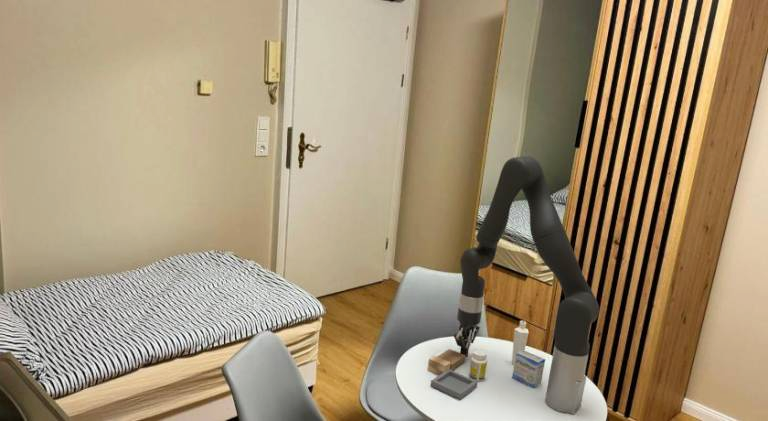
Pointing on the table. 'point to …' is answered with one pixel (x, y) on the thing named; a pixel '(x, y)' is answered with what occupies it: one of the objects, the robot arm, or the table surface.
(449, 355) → the flat cardboard carton
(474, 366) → the supplement bottle
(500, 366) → the table surface
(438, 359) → the tan rectangular block
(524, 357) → the medicine box
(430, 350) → the table surface
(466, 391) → the tray
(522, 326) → the white plastic bottle
